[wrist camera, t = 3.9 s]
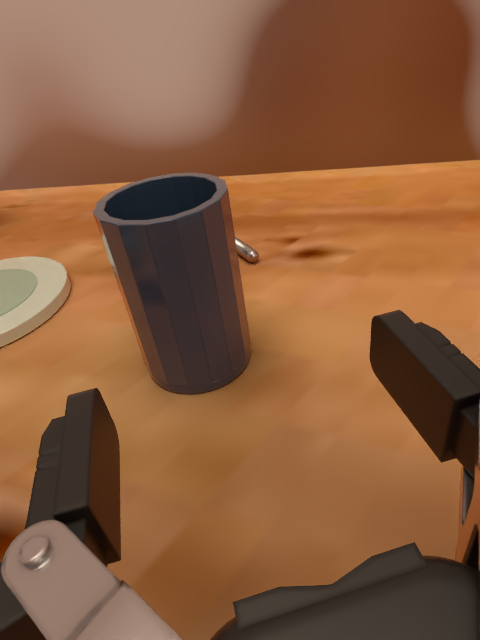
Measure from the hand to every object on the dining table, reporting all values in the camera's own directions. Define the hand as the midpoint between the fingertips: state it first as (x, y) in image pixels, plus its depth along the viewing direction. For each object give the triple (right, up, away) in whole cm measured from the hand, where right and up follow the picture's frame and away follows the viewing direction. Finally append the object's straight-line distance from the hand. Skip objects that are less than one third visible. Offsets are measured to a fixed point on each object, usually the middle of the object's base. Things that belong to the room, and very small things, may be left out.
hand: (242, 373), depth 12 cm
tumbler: (-2, -1, +14) cm, 14 cm away
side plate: (-20, +2, +22) cm, 29 cm away
